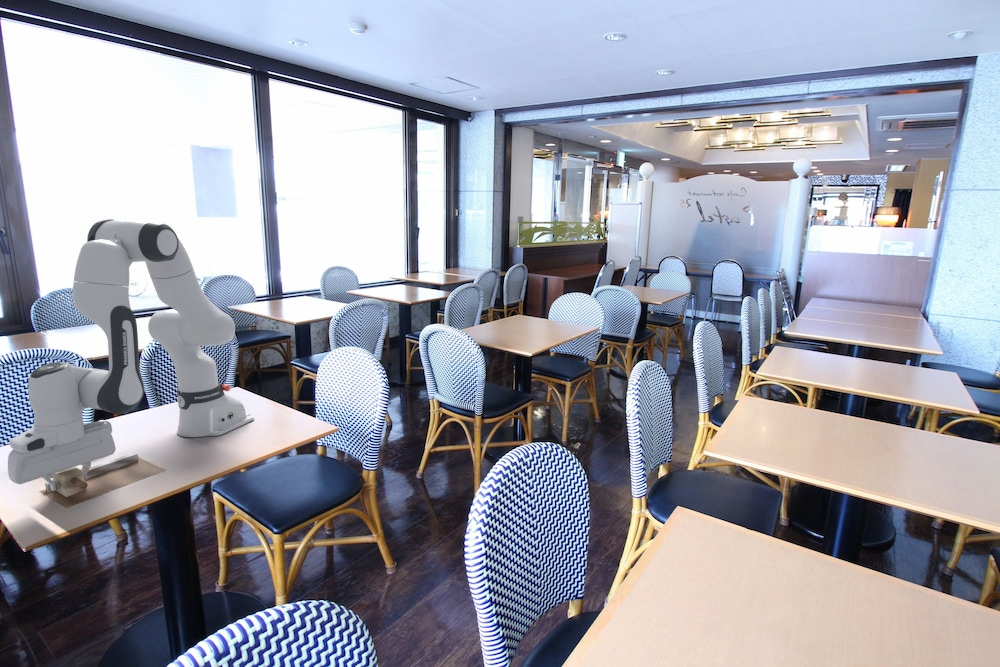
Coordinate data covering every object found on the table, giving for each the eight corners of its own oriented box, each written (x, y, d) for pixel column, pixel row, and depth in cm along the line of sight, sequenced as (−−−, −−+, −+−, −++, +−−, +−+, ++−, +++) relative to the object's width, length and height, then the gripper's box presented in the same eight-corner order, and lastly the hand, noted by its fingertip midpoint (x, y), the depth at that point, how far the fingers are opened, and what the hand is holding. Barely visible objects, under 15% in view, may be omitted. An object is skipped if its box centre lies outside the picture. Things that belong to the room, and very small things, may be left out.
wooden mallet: (74, 483, 130) (71, 464, 129) (96, 495, 125) (93, 476, 124) (54, 490, 127) (51, 471, 126) (76, 503, 122) (73, 483, 121)
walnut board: (138, 462, 146) (137, 449, 145) (166, 475, 139) (165, 462, 138) (40, 496, 127) (38, 482, 126) (67, 513, 120) (64, 498, 119)
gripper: (104, 415, 134) (111, 464, 137) (-1, 443, 117) (10, 499, 120) (116, 420, 131) (123, 470, 134) (11, 449, 114) (22, 507, 117)
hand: (69, 484), depth 127 cm, fingers closed on wooden mallet, 4 cm apart
